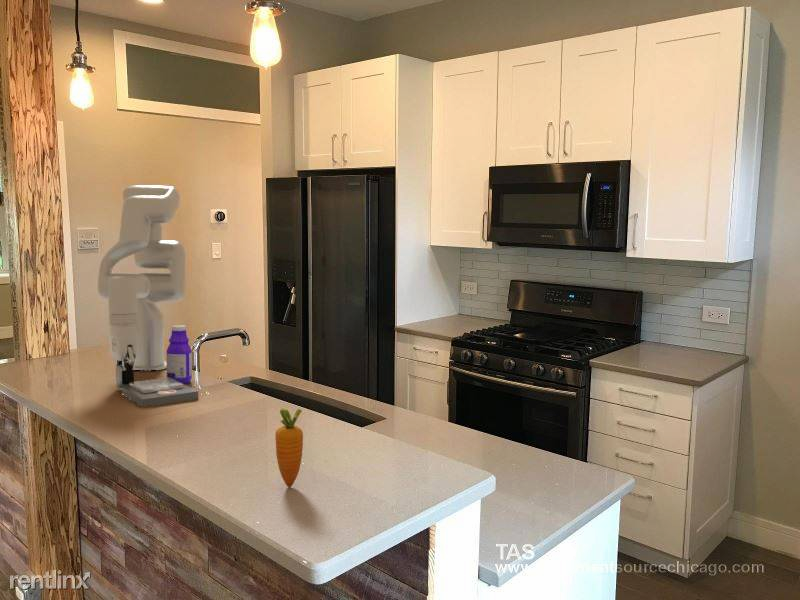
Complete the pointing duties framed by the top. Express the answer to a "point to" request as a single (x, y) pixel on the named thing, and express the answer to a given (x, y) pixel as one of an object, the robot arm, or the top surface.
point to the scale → (160, 396)
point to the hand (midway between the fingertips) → (125, 381)
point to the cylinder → (120, 376)
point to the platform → (156, 385)
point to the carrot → (289, 447)
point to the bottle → (179, 355)
